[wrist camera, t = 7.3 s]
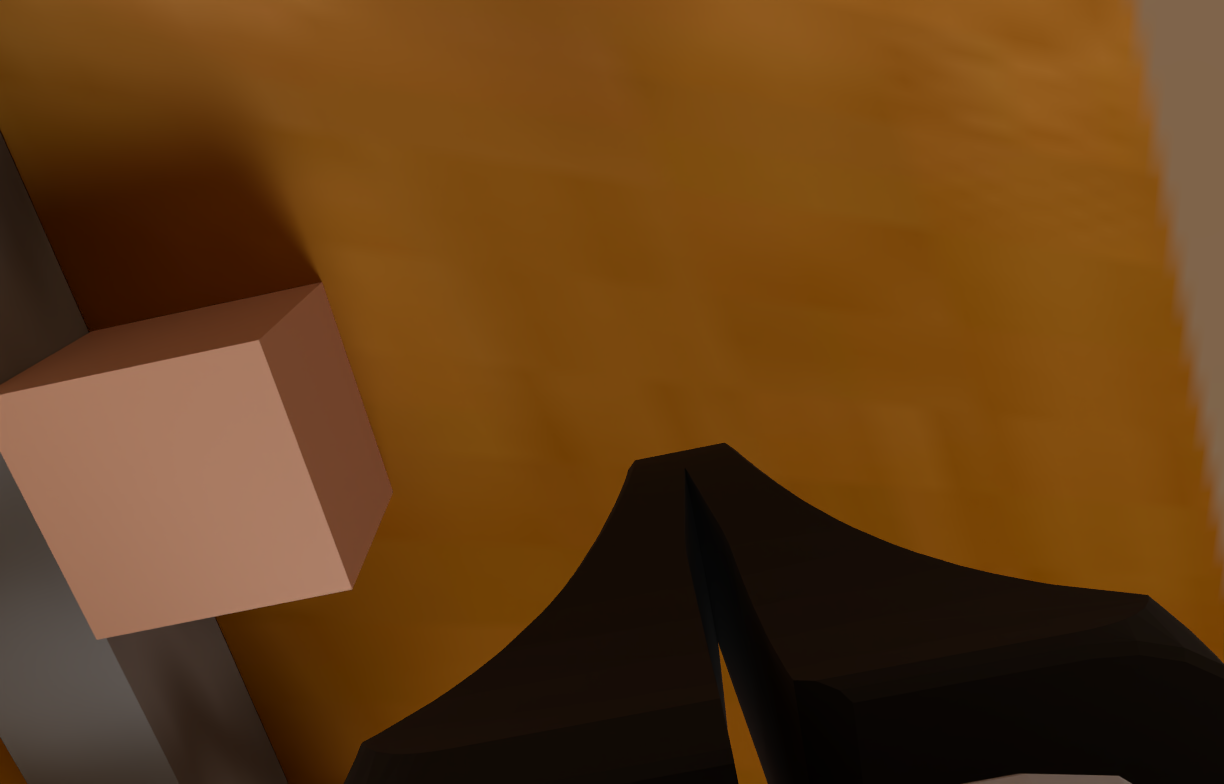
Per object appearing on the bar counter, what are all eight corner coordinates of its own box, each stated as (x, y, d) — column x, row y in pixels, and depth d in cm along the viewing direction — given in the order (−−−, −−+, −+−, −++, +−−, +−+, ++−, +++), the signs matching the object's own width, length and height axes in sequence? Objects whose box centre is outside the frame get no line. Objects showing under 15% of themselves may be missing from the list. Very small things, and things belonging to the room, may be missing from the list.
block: (394, 489, 20) (352, 589, 17) (184, 531, 20) (96, 640, 17) (323, 279, 18) (259, 339, 15) (94, 329, 19) (-27, 400, 15)
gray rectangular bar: (288, 782, 23) (239, 904, 20) (177, 803, 23) (111, 927, 20) (-84, -59, 16) (-257, -86, 13) (-243, -24, 16) (-455, -40, 13)
